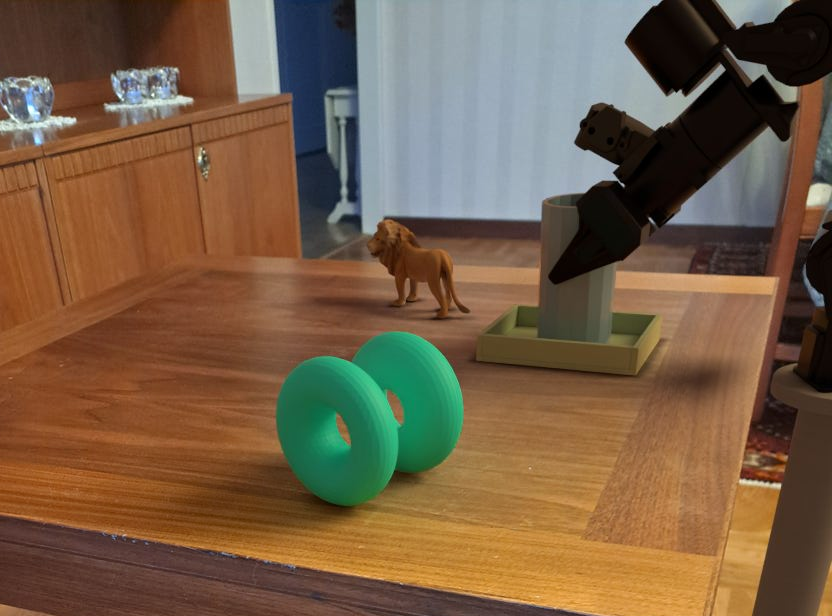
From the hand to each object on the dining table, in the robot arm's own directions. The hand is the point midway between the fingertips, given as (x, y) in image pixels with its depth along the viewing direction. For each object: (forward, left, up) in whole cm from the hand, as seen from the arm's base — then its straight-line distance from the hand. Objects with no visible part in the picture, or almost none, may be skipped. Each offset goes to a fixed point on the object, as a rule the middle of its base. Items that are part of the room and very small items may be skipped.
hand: (562, 272), depth 89 cm
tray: (-1, +1, -7) cm, 7 cm away
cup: (-1, +1, -7) cm, 7 cm away
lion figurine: (+13, -18, -7) cm, 24 cm away
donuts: (+19, +32, -7) cm, 38 cm away
